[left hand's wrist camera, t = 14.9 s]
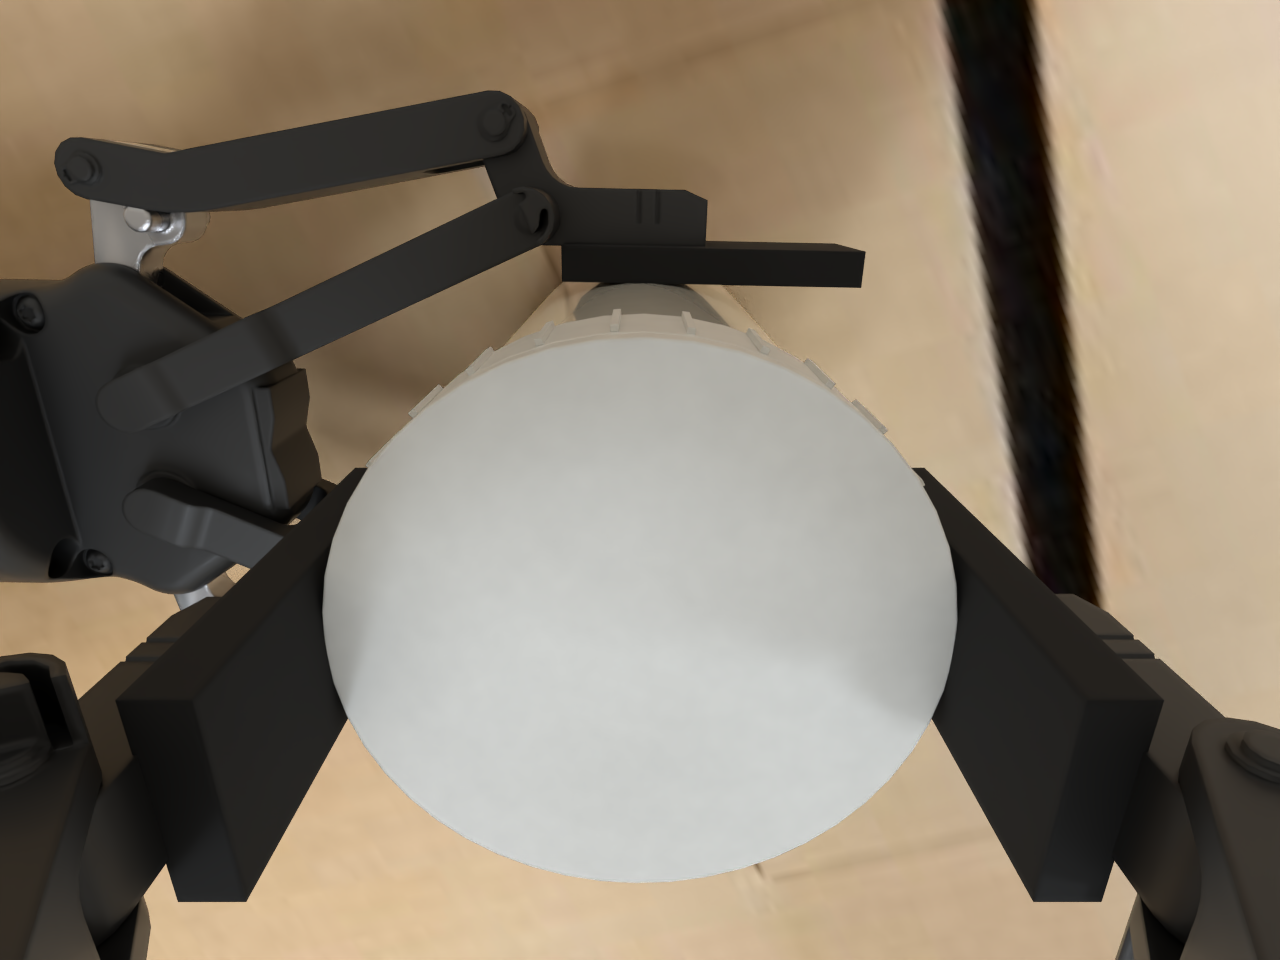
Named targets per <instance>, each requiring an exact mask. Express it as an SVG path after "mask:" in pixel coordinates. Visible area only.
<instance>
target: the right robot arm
mask: <svg viewBox="0 0 1280 960" xmlns="http://www.w3.org/2000/svg"><path fill="white" fill-rule="evenodd" d="M54 164H55V167H56V171H57V174H58V176H59V178H60V179H61V181H62V182H63V184H64V185H65V187H67V188H68V189H69V190H70V191H71V192H73V193H74V194H75V195H78V196H80V197H83V198H85V199H89V200H90V207H91V220H92V232H93V244H94V256H95V264H92V265H89V266H86V267H84V268H82V269H80V270H78V271H77V272H75V273H74V274H73V275H71V276H70V277H68V278H66V279H64V280H27V279H0V582H30V583H49V582H64V581H73V580H81V579H89V578H98V577H109V576H114V577H121V578H125V579H129V580H132V581H135V582H138V583H140V584H142V585H145V586H147V587H149V588H151V589H153V590H155V591H159V592H162V593H167V594H174V596H175V598H176V601H177V603H178V606H179V608H180V610H183V609H185V608H187V607H189V606H190V605H192V604H194V603H196V602H198V601H200V600H202V599H203V598H205V597H222V596H223V595H224V594H225V593H226V592H227V591H229V590H230V589H231V588H232V587H233V586H234V585H235V584H236V583H234V582H233V581H232V580H231V579H230V578H229V577H228V575H227V574H226V571H227V570H228V569H230V568H231V567H233V566H234V565H235V564H240V565H242V566H245V567H247V568H250V569H251V568H252V567H253V566H254V565H255V564H256V563H257V562H259V561H260V560H261V559H262V558H263V557H264V556H265V555H266V554H267V553H268V552H269V551H270V550H271V549H272V548H273V547H274V546H275V545H276V544H277V543H278V542H279V541H280V540H281V539H282V538H283V537H284V536H285V535H286V534H287V533H288V532H290V531H291V530H292V529H293V528H294V527H295V526H296V525H297V524H296V525H289V524H290V523H291V522H292V521H293V520H294V519H295V518H298V519H300V520H302V519H303V518H304V517H305V516H306V515H307V514H308V513H309V512H310V511H311V510H312V509H313V508H314V507H315V506H316V505H317V504H318V503H319V502H321V501H322V500H323V499H324V498H325V497H326V496H327V495H328V494H329V493H330V492H331V491H332V490H333V489H334V488H335V487H336V486H337V485H336V484H334V483H331V482H329V481H327V480H324V479H322V478H321V471H320V464H319V457H318V453H317V450H316V448H315V446H314V443H313V441H312V439H311V436H310V434H309V432H308V429H307V426H306V422H307V414H308V406H309V399H310V396H309V389H308V382H307V375H306V369H296V366H295V364H294V363H293V361H292V360H294V359H296V358H298V357H300V356H302V355H305V354H307V353H309V352H311V351H313V350H315V349H318V348H320V347H322V346H324V345H326V344H328V343H330V342H333V341H335V340H337V339H339V338H341V337H343V336H346V335H348V334H350V333H352V332H354V331H356V330H358V329H361V328H363V327H365V326H367V325H369V324H371V323H374V322H376V321H378V320H380V319H382V318H384V317H387V316H389V315H391V314H393V313H395V312H397V311H399V310H402V309H404V308H406V307H408V306H410V305H412V304H415V303H417V302H419V301H421V300H423V299H425V298H427V297H430V296H432V295H434V294H436V293H438V292H440V291H443V290H445V289H447V288H449V287H451V286H453V285H455V284H458V283H460V282H462V281H464V280H466V279H468V278H471V277H473V276H475V275H477V274H479V273H481V272H484V271H486V270H488V269H490V268H492V267H494V266H496V265H499V264H501V263H503V262H505V261H507V260H509V259H512V258H514V257H516V256H518V255H520V254H522V253H524V252H527V251H529V250H531V249H533V248H535V247H537V246H540V245H558V246H561V250H562V282H598V283H652V284H698V285H749V286H799V287H849V288H861V284H862V276H863V268H864V260H865V251H861V250H857V249H853V248H849V247H845V246H842V245H838V244H826V243H776V242H727V241H706V222H707V202H708V200H706V199H703V198H701V197H699V196H697V195H695V194H693V193H690V192H688V191H686V190H660V189H612V188H578V187H573V186H571V185H568V184H566V183H565V182H564V181H562V180H561V179H560V178H559V177H558V176H557V175H556V174H555V172H554V171H553V169H552V167H551V165H550V163H549V160H548V157H547V154H546V151H545V149H544V146H543V143H542V140H541V137H540V134H539V127H538V124H537V122H536V119H535V117H534V116H533V115H532V113H531V112H530V111H529V110H528V109H527V108H526V107H524V106H523V105H522V104H520V103H519V102H517V101H516V100H515V99H513V98H512V97H511V96H509V95H507V94H505V93H503V92H501V91H483V92H478V93H473V94H468V95H463V96H457V97H452V98H447V99H442V100H437V101H432V102H427V103H421V104H416V105H411V106H406V107H401V108H396V109H390V110H385V111H380V112H375V113H370V114H365V115H360V116H354V117H349V118H344V119H339V120H334V121H329V122H324V123H318V124H313V125H308V126H303V127H298V128H293V129H288V130H282V131H277V132H272V133H267V134H262V135H257V136H252V137H246V138H241V139H236V140H231V141H226V142H221V143H216V144H210V145H205V146H200V147H195V148H190V149H185V150H179V149H174V148H169V147H163V146H158V145H152V144H142V143H132V142H122V141H112V140H102V139H92V138H82V137H79V138H69V139H67V140H65V141H63V142H61V144H60V145H59V147H58V148H57V150H56V152H55V162H54ZM484 166H485V168H486V170H487V173H488V176H489V178H490V181H491V183H492V186H493V188H494V191H495V194H496V196H497V199H496V200H493V201H491V202H489V203H487V204H485V205H483V206H481V207H479V208H477V209H475V210H473V211H470V212H468V213H466V214H464V215H462V216H460V217H458V218H456V219H454V220H452V221H450V222H447V223H445V224H443V225H441V226H439V227H437V228H435V229H433V230H431V231H429V232H427V233H425V234H422V235H420V236H418V237H416V238H414V239H412V240H410V241H408V242H406V243H404V244H402V245H399V246H397V247H395V248H393V249H391V250H389V251H387V252H385V253H383V254H381V255H379V256H376V257H374V258H372V259H370V260H368V261H366V262H364V263H362V264H360V265H358V266H356V267H353V268H351V269H349V270H347V271H345V272H343V273H341V274H339V275H337V276H335V277H333V278H330V279H328V280H326V281H324V282H322V283H320V284H318V285H316V286H314V287H312V288H310V289H308V290H305V291H303V292H301V293H299V294H297V295H295V296H293V297H291V298H289V299H287V300H285V301H282V302H280V303H278V304H276V305H274V306H272V307H270V308H267V309H265V310H262V311H260V312H258V313H255V314H253V315H250V316H248V317H246V318H243V319H242V318H241V317H239V316H238V315H236V314H235V313H233V312H232V311H230V310H229V309H227V308H226V307H224V306H223V305H221V304H220V303H218V302H217V301H215V300H214V299H212V298H211V297H209V296H208V295H206V294H205V293H203V292H202V291H200V290H199V289H197V288H196V287H194V286H193V285H191V284H190V283H188V282H187V281H185V280H184V279H182V278H181V277H179V276H178V275H176V274H175V273H173V272H172V271H170V270H168V269H167V268H165V267H163V259H164V256H165V254H166V252H167V250H168V249H169V248H170V247H171V246H173V245H176V244H178V243H187V242H193V241H196V240H198V239H199V238H200V237H201V236H202V235H203V234H204V232H205V230H206V227H207V225H208V223H209V222H210V213H209V212H214V211H237V210H250V209H258V208H266V207H271V206H276V205H281V204H287V203H292V202H297V201H303V200H308V199H313V198H319V197H324V196H329V195H335V194H340V193H345V192H351V191H356V190H361V189H367V188H372V187H377V186H383V185H388V184H393V183H399V182H404V181H409V180H414V179H420V178H425V177H430V176H436V175H441V174H446V173H452V172H457V171H462V170H468V169H473V168H478V167H484Z"/></svg>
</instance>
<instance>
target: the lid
mask: <svg viewBox="0 0 1280 960" xmlns="http://www.w3.org/2000/svg"><path fill="white" fill-rule="evenodd" d="M834 385H835V382H834V381H833V380H832V379H830V378H829V377H828V376H827V375H826V374H825V373H824V372H823V371H822V370H821V369H820V368H819V367H818V366H817V365H816V364H815V363H814V362H813V361H812V360H810V359H809V358H807V359H806V361H805V362H802V361H801V360H800V359H798V358H797V357H795V356H793V355H791V354H789V353H787V352H786V351H784V350H782V349H780V348H778V347H776V346H774V345H772V344H770V343H769V342H767V341H765V340H763V339H762V338H761V337H760V336H759V334H758V333H757V332H756V331H755V330H753V329H751V328H748V330H747V332H746V333H744V332H741V331H738V330H736V329H733V328H730V327H727V326H725V325H720V324H716V323H711V322H706V321H702V320H697V319H693V318H692V317H691V314H690V312H685V311H682V316H668V315H656V314H627V315H621V309H614V310H613V313H612V315H608V316H599V317H594V318H589V319H583V320H578V321H573V322H567V323H563V324H560V325H557V326H555V325H554V322H553V321H550V322H547V323H546V324H545V325H544V326H543V328H542V329H541V331H539V332H536V333H533V334H529V335H526V336H524V337H522V338H520V339H518V340H516V341H514V342H512V343H510V344H508V345H506V346H504V347H502V348H500V349H498V350H496V351H494V350H493V348H492V347H489V348H487V349H486V350H485V351H484V352H483V353H482V354H481V355H480V356H479V357H478V358H477V359H476V360H475V361H474V362H473V363H472V364H471V365H470V366H469V367H468V368H467V369H466V370H465V371H463V372H462V373H460V374H459V375H458V376H457V377H455V378H454V379H453V380H452V381H451V382H450V383H449V384H448V385H447V386H446V387H444V388H442V387H441V386H440V385H439V384H438V385H437V386H436V387H435V388H434V389H433V390H432V391H431V392H430V393H429V394H428V395H427V396H426V397H425V398H424V399H422V400H421V401H420V402H419V403H418V404H417V405H416V406H415V407H414V408H413V409H412V410H411V411H410V412H409V413H408V414H409V415H410V416H411V417H412V419H411V420H410V421H409V422H408V423H407V424H406V425H405V426H404V427H403V428H402V429H401V430H400V431H398V432H397V433H396V434H395V435H394V436H393V437H392V438H391V439H390V440H389V441H388V442H387V443H386V444H385V445H384V446H383V447H382V448H381V449H380V450H379V451H378V452H377V453H376V454H375V455H374V456H373V457H372V458H371V459H370V460H369V461H368V463H367V464H366V467H368V469H367V470H366V472H365V474H364V475H363V477H362V479H361V481H360V482H359V484H358V486H357V487H356V489H355V491H354V492H353V494H352V496H351V497H350V499H349V501H348V502H347V505H346V507H345V510H344V512H343V515H342V517H341V520H340V522H339V525H338V527H337V530H336V532H335V535H334V537H333V540H332V545H331V549H330V554H329V558H328V562H327V567H326V571H325V576H324V591H323V606H322V617H323V628H324V638H325V644H326V650H327V655H328V660H329V665H330V670H331V674H332V678H333V682H334V685H335V688H336V690H337V693H338V695H339V698H340V700H341V703H342V705H343V707H344V710H345V712H346V715H347V717H348V719H349V720H350V722H351V724H352V726H353V727H354V729H355V731H356V733H357V734H358V736H359V738H360V739H361V741H362V743H363V745H364V746H365V748H366V749H367V750H368V751H369V753H370V754H371V755H372V757H373V758H374V759H375V761H376V762H377V763H378V765H379V766H380V767H381V769H382V770H383V771H384V772H385V774H386V775H387V776H388V777H389V778H390V779H391V780H392V781H393V782H394V783H395V784H396V785H397V786H398V787H399V788H400V789H401V790H402V791H403V792H404V793H405V794H406V795H407V796H408V797H409V798H410V799H411V800H413V801H414V802H415V803H416V804H418V805H419V806H420V807H421V808H422V809H424V810H425V811H426V812H427V813H429V814H430V815H431V816H432V817H434V818H435V819H436V820H438V821H439V822H441V823H442V824H444V825H446V826H447V827H449V828H450V829H452V830H453V831H455V832H457V833H458V834H460V835H461V836H463V837H464V838H466V839H468V840H470V841H472V842H474V843H476V844H478V845H480V846H482V847H484V848H486V849H488V850H490V851H492V852H494V853H496V854H499V855H501V856H504V857H507V858H510V859H512V860H515V861H518V862H520V863H523V864H526V865H528V866H531V867H535V868H539V869H543V870H547V871H551V872H554V873H558V874H562V875H566V876H573V877H579V878H586V879H592V880H598V881H611V882H629V883H648V882H673V881H680V880H687V879H695V878H702V877H708V876H713V875H717V874H721V873H725V872H730V871H734V870H738V869H742V868H745V867H748V866H751V865H754V864H757V863H759V862H762V861H765V860H768V859H771V858H774V857H776V856H779V855H781V854H783V853H785V852H787V851H789V850H792V849H794V848H796V847H798V846H800V845H802V844H804V843H807V842H808V841H810V840H812V839H813V838H815V837H817V836H818V835H820V834H822V833H823V832H825V831H827V830H828V829H830V828H832V827H833V826H835V825H837V824H838V823H839V822H841V821H842V820H843V819H845V818H846V817H847V816H849V815H850V814H851V813H852V812H854V811H855V810H856V809H858V808H859V807H860V806H862V805H863V804H864V803H865V802H866V801H867V800H869V799H870V798H871V797H872V796H873V795H874V794H875V793H876V792H877V791H878V790H879V789H880V788H881V787H882V786H883V785H884V784H885V783H886V782H887V781H888V780H889V779H890V778H891V777H892V776H893V774H894V773H895V772H896V771H897V769H898V768H899V767H900V766H901V764H902V763H903V762H904V761H905V759H906V758H907V757H908V756H909V755H910V753H911V752H912V751H913V749H914V747H915V746H916V744H917V742H918V741H919V739H920V737H921V736H922V734H923V733H924V731H925V729H926V728H927V726H928V724H929V723H930V721H931V718H932V716H933V714H934V712H935V709H936V707H937V705H938V702H939V700H940V698H941V696H942V693H943V691H944V688H945V684H946V681H947V677H948V674H949V669H950V664H951V659H952V654H953V648H954V642H955V636H956V630H957V621H958V617H957V586H956V579H955V573H954V568H953V563H952V558H951V553H950V547H949V544H948V542H947V539H946V536H945V533H944V530H943V528H942V525H941V522H940V519H939V517H938V514H937V511H936V509H935V507H934V505H933V504H932V502H931V500H930V498H929V496H928V494H927V493H926V491H925V489H924V487H923V486H925V484H924V482H923V480H922V479H921V478H920V477H919V476H918V475H917V474H916V473H915V472H914V471H913V470H912V468H911V467H910V466H909V464H908V463H907V462H906V461H905V459H904V458H903V457H902V455H901V454H900V453H899V451H898V450H897V449H896V447H895V446H894V445H893V444H892V443H891V442H890V441H889V440H888V439H887V438H886V437H885V436H884V435H883V434H884V433H886V432H887V431H888V430H887V429H886V427H885V426H884V425H883V424H882V423H881V422H880V421H879V420H878V419H876V418H875V417H874V416H873V415H872V414H871V413H870V412H869V411H868V410H867V409H866V408H865V407H864V406H863V405H862V404H861V403H860V402H859V401H858V400H857V399H855V400H854V401H853V402H852V403H851V402H850V401H849V400H848V399H847V398H846V397H845V396H844V395H843V394H842V393H841V392H840V391H839V390H838V389H837V388H836V387H835V386H834Z"/></svg>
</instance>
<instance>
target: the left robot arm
mask: <svg viewBox="0 0 1280 960" xmlns="http://www.w3.org/2000/svg"><path fill="white" fill-rule="evenodd" d="M367 469H368V468H355V469H354V470H353V471H352V472H351V473H349V474H348V475H347V476H346V477H345V478H344V479H343V480H342V481H341V482H340V483H339V484H338V485H337V486H336V487H335V488H334V489H333V490H332V491H331V492H330V493H329V494H328V495H327V496H326V497H325V498H324V499H323V500H322V501H321V502H319V503H318V504H317V505H316V506H315V507H314V508H313V509H312V510H311V511H310V512H309V513H308V514H307V515H306V516H305V517H304V518H303V519H302V520H301V521H300V522H299V523H298V524H297V525H296V526H295V527H294V528H293V529H292V530H291V531H290V532H288V533H287V534H286V535H285V536H284V537H283V538H282V539H281V540H280V541H279V542H278V543H277V544H276V545H275V546H274V547H273V548H272V549H271V550H270V551H269V552H268V553H267V554H266V555H265V556H264V557H263V558H262V559H261V560H260V561H259V562H257V563H256V564H255V565H254V566H253V567H252V568H251V569H250V570H249V571H248V572H247V573H246V574H245V575H244V576H243V577H242V578H241V579H240V580H239V581H238V582H237V583H236V584H235V585H234V586H233V587H232V588H231V589H230V590H229V591H227V592H226V593H225V594H224V595H223V596H222V597H205V598H203V599H202V600H200V601H198V602H196V603H194V604H192V605H190V606H189V607H187V608H185V609H183V610H181V611H179V612H177V613H176V614H174V615H172V616H171V617H170V618H168V619H167V620H166V621H165V622H164V623H163V624H162V625H161V626H160V627H158V628H157V629H156V630H155V631H154V632H153V633H152V634H151V635H150V636H148V637H147V641H146V643H141V644H140V645H139V646H137V647H136V648H135V649H134V650H133V651H132V652H131V653H130V654H129V655H127V656H126V661H125V662H120V663H119V664H117V665H116V666H115V667H114V668H113V669H112V670H111V671H110V672H109V673H108V674H106V675H105V676H104V677H103V678H102V679H101V680H100V681H99V682H98V683H96V684H95V685H94V686H93V687H92V688H91V689H90V690H89V691H88V692H86V693H85V694H84V695H83V696H82V697H81V698H80V699H79V700H78V699H77V696H76V693H75V690H74V687H73V684H72V681H71V678H70V675H69V672H68V669H67V666H66V663H65V662H64V661H62V660H60V659H59V658H57V657H55V656H54V655H50V654H38V653H24V654H17V655H9V656H1V657H0V960H146V958H147V951H148V943H149V936H150V929H151V925H150V918H149V912H148V908H147V905H146V902H145V899H144V896H143V895H144V894H145V892H146V891H147V889H148V888H149V887H150V885H151V884H152V882H153V881H154V880H155V878H156V877H157V875H158V874H159V872H160V871H161V870H162V868H163V867H164V865H165V864H166V865H167V868H168V871H169V874H170V877H171V881H172V884H173V887H174V890H175V893H176V897H177V900H178V902H246V901H247V899H248V898H249V896H250V894H251V892H252V890H253V889H254V887H255V885H256V883H257V881H258V880H259V878H260V876H261V874H262V872H263V871H264V869H265V867H266V865H267V863H268V861H269V860H270V858H271V856H272V854H273V852H274V851H275V849H276V847H277V845H278V843H279V842H280V840H281V838H282V836H283V834H284V833H285V831H286V829H287V827H288V825H289V824H290V822H291V820H292V818H293V816H294V815H295V813H296V811H297V809H298V807H299V806H300V804H301V802H302V800H303V798H304V797H305V795H306V793H307V791H308V789H309V788H310V786H311V784H312V782H313V780H314V779H315V777H316V775H317V773H318V771H319V770H320V768H321V766H322V764H323V762H324V761H325V759H326V757H327V755H328V753H329V752H330V750H331V748H332V746H333V744H334V743H335V741H336V739H337V737H338V735H339V734H340V732H341V730H342V728H343V726H344V725H345V723H346V721H347V719H348V717H347V715H346V712H345V710H344V707H343V705H342V703H341V700H340V698H339V695H338V693H337V690H336V688H335V685H334V682H333V678H332V674H331V670H330V665H329V660H328V655H327V650H326V644H325V638H324V628H323V617H322V606H323V591H324V576H325V571H326V567H327V562H328V558H329V554H330V549H331V545H332V540H333V537H334V535H335V532H336V530H337V527H338V525H339V522H340V520H341V517H342V515H343V512H344V510H345V507H346V505H347V502H348V501H349V499H350V497H351V496H352V494H353V492H354V491H355V489H356V487H357V486H358V484H359V482H360V481H361V479H362V477H363V475H364V474H365V472H366V470H367ZM912 470H913V471H914V472H915V473H916V474H917V475H918V476H919V477H920V478H921V479H922V480H923V482H924V484H925V486H923V487H924V489H925V491H926V493H927V494H928V496H929V498H930V500H931V502H932V504H933V505H934V507H935V509H936V511H937V514H938V517H939V519H940V522H941V525H942V528H943V530H944V533H945V536H946V539H947V542H948V544H949V547H950V553H951V558H952V563H953V568H954V573H955V579H956V586H957V617H958V621H957V630H956V636H955V642H954V648H953V654H952V659H951V664H950V669H949V674H948V677H947V681H946V684H945V688H944V691H943V693H942V696H941V698H940V700H939V702H938V705H937V707H936V709H935V712H934V714H933V716H932V720H933V722H934V724H935V725H936V727H937V729H938V731H939V733H940V734H941V736H942V738H943V740H944V742H945V743H946V745H947V747H948V749H949V751H950V752H951V754H952V756H953V758H954V760H955V761H956V763H957V765H958V767H959V769H960V770H961V772H962V774H963V776H964V778H965V779H966V781H967V783H968V785H969V787H970V788H971V790H972V792H973V794H974V796H975V797H976V799H977V801H978V803H979V805H980V806H981V808H982V810H983V812H984V814H985V815H986V817H987V819H988V821H989V823H990V824H991V826H992V828H993V830H994V832H995V833H996V835H997V837H998V839H999V841H1000V842H1001V844H1002V846H1003V848H1004V850H1005V851H1006V853H1007V855H1008V857H1009V859H1010V860H1011V862H1012V864H1013V866H1014V868H1015V869H1016V871H1017V873H1018V875H1019V877H1020V878H1021V880H1022V882H1023V884H1024V886H1025V887H1026V889H1027V891H1028V893H1029V895H1030V896H1031V898H1032V900H1033V902H1102V898H1103V895H1104V892H1105V889H1106V886H1107V882H1108V879H1109V876H1110V873H1111V870H1112V866H1113V863H1114V861H1115V862H1116V863H1117V865H1118V866H1119V868H1120V869H1121V870H1122V872H1123V873H1124V875H1125V876H1126V877H1127V879H1128V880H1129V882H1130V883H1131V884H1132V886H1133V887H1134V889H1135V890H1136V892H1137V896H1136V899H1135V902H1134V905H1133V908H1132V911H1131V914H1130V917H1129V920H1128V923H1127V926H1126V929H1125V932H1124V935H1123V938H1122V941H1121V944H1120V947H1119V950H1118V953H1117V956H1116V959H1115V960H1280V729H1277V728H1274V727H1270V726H1267V725H1264V724H1261V723H1258V722H1254V721H1247V720H1241V719H1234V718H1225V717H1224V716H1223V715H1222V714H1221V713H1220V712H1219V711H1217V710H1216V709H1215V708H1214V707H1213V706H1212V705H1211V704H1210V703H1208V702H1207V701H1206V700H1205V699H1204V698H1203V697H1202V696H1201V695H1200V694H1198V693H1197V692H1196V691H1195V690H1194V689H1193V688H1192V687H1191V686H1189V685H1188V684H1187V683H1186V682H1185V681H1184V680H1183V679H1182V678H1181V677H1179V676H1178V675H1177V674H1176V673H1175V672H1174V671H1173V670H1172V669H1171V668H1169V667H1168V666H1167V665H1166V664H1165V663H1164V662H1163V661H1162V660H1160V659H1155V657H1154V653H1153V652H1152V651H1150V650H1149V649H1148V648H1147V647H1146V646H1145V645H1144V644H1143V643H1142V642H1140V641H1139V640H1134V638H1133V634H1131V633H1130V632H1129V631H1128V630H1127V629H1126V628H1125V627H1124V626H1123V625H1121V624H1120V623H1119V622H1118V621H1117V620H1116V619H1115V618H1114V617H1113V616H1111V615H1110V614H1109V613H1108V612H1106V611H1104V610H1102V609H1100V608H1098V607H1096V606H1095V605H1093V604H1091V603H1089V602H1087V601H1085V600H1083V599H1081V598H1080V597H1078V596H1076V595H1074V594H1054V593H1053V592H1052V591H1051V590H1050V589H1049V588H1048V587H1047V586H1046V585H1045V584H1044V583H1043V582H1042V581H1041V580H1040V579H1039V578H1038V577H1037V576H1035V575H1034V574H1033V573H1032V572H1031V571H1030V570H1029V569H1028V568H1027V567H1026V566H1025V565H1024V564H1023V563H1022V562H1021V561H1020V560H1019V559H1018V558H1017V557H1016V556H1015V555H1014V554H1013V553H1012V552H1011V551H1010V550H1009V549H1008V548H1007V547H1006V546H1004V545H1003V544H1002V543H1001V542H1000V541H999V540H998V539H997V538H996V537H995V536H994V535H993V534H992V533H991V532H990V531H989V530H988V529H987V528H986V527H985V526H984V525H983V524H982V523H981V522H980V521H979V520H978V519H977V518H976V517H975V516H973V515H972V514H971V513H970V512H969V511H968V510H967V509H966V508H965V507H964V506H963V505H962V504H961V503H960V502H959V501H958V500H957V499H956V498H955V497H954V496H953V495H952V494H951V493H950V492H949V491H948V490H947V489H946V488H945V487H944V486H942V485H941V484H940V483H939V482H938V481H937V480H936V479H935V478H934V477H933V476H932V475H931V474H930V473H929V472H928V471H927V470H926V469H925V468H912Z"/></svg>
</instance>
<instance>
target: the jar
mask: <svg viewBox="0 0 1280 960" xmlns="http://www.w3.org/2000/svg"><path fill="white" fill-rule="evenodd" d="M614 309H621V315H627V314H656V315H668V316H682V311H685V312H690V314H691V317H692V318H693V319H697V320H702V321H706V322H711V323H716V324H720V325H725V326H727V327H730V328H733V329H736V330H738V331H741V332H744V333H746V332H747V330H748V328H751V329H753V330H755V331H756V332H757V333H758V334H759V336H760V337H761V338H762V339H763V340H765V341H767V342H769V343H770V344H772V345H774V346H776V347H778V346H777V345H776V344H775V343H774V342H773V341H772V340H771V338H770V337H769V336H768V335H767V334H766V333H765V332H764V331H763V329H762V328H761V327H760V326H759V325H758V324H757V323H756V322H755V321H754V319H753V318H752V317H751V316H750V315H749V314H748V313H747V312H746V311H745V309H744V308H743V307H742V306H741V305H740V304H739V303H738V302H737V300H736V299H735V298H734V297H733V296H732V295H731V294H730V293H729V292H728V291H727V290H726V289H725V288H724V287H723V286H722V285H698V284H652V283H598V282H562V283H561V284H560V285H559V286H558V287H556V288H555V289H554V290H553V291H552V292H551V293H550V295H549V296H548V297H547V298H546V299H545V300H544V301H543V302H542V303H541V304H540V305H539V307H538V308H537V309H536V310H535V311H534V312H533V313H532V314H531V315H530V317H529V318H528V319H527V320H526V321H525V322H524V323H523V324H522V326H521V327H520V328H519V329H518V330H517V331H516V332H515V333H514V334H513V336H512V337H511V338H510V339H509V340H508V341H507V342H506V343H505V344H504V346H506V345H508V344H510V343H512V342H514V341H516V340H518V339H520V338H522V337H524V336H526V335H529V334H533V333H536V332H539V331H541V329H542V328H543V326H544V325H545V324H546V323H547V322H550V321H553V322H554V325H555V326H557V325H560V324H563V323H567V322H573V321H578V320H583V319H589V318H594V317H599V316H608V315H612V313H613V310H614ZM504 346H503V347H504ZM778 348H779V347H778Z"/></svg>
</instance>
